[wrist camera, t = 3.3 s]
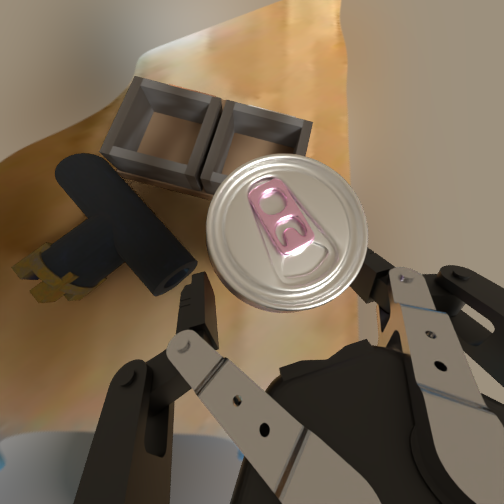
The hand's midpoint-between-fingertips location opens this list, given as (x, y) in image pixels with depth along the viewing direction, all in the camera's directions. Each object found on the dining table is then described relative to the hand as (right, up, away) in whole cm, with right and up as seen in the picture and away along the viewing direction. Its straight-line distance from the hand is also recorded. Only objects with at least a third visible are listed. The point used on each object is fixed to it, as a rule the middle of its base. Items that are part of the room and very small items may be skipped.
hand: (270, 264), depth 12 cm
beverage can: (-1, -1, +10) cm, 10 cm away
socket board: (-5, +13, +12) cm, 19 cm away
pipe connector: (-16, +1, +9) cm, 19 cm away
